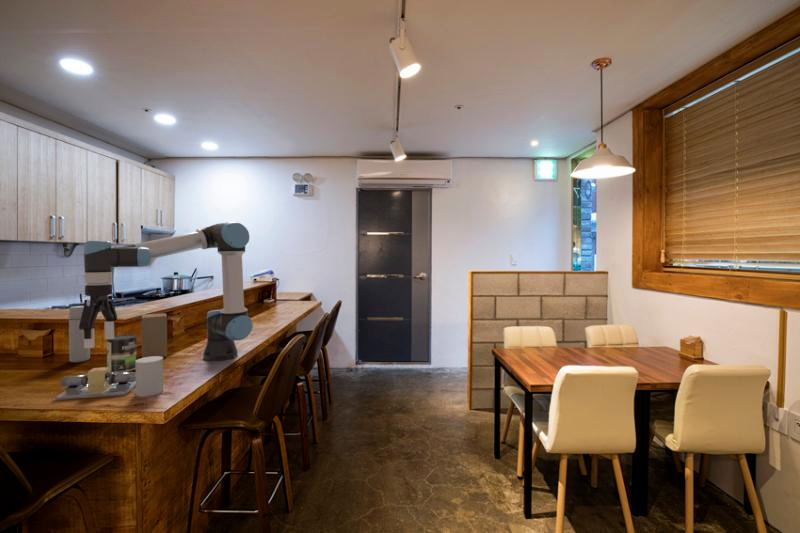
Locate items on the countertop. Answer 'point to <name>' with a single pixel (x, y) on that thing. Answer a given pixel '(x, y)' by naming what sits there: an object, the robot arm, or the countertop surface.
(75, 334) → the water bottle
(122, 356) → the coffee can
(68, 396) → the shaft bed
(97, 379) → the coupler
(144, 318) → the wooden block
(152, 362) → the cup
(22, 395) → the countertop surface
